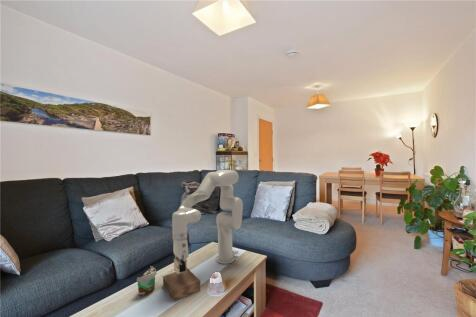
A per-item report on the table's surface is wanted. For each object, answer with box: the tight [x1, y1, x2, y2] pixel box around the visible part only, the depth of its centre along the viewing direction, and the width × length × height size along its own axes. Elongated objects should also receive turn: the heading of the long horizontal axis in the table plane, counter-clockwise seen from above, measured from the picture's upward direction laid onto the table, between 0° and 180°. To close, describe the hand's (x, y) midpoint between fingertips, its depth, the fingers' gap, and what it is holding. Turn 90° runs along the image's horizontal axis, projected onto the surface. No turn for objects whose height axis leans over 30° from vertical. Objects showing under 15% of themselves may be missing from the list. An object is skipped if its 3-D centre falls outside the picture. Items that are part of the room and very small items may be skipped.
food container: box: [136, 265, 158, 297], centre depth 118 cm, size 12×6×10 cm, turn 168°
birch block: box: [173, 257, 188, 274], centre depth 120 cm, size 5×5×6 cm
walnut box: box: [162, 267, 201, 302], centre depth 120 cm, size 14×16×5 cm
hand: (180, 268), depth 120 cm, fingers closed on birch block, 5 cm apart
